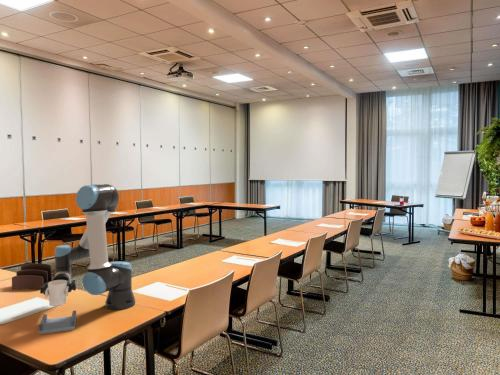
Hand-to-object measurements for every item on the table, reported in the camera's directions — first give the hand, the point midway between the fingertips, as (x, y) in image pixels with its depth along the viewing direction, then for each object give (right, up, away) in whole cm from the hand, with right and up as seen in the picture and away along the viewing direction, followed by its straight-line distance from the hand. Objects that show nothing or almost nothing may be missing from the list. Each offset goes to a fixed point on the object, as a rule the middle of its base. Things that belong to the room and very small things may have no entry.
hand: (56, 294), depth 171 cm
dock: (-1, -16, +5) cm, 17 cm away
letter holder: (-49, -15, +67) cm, 84 cm away
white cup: (-2, -6, +5) cm, 8 cm away
